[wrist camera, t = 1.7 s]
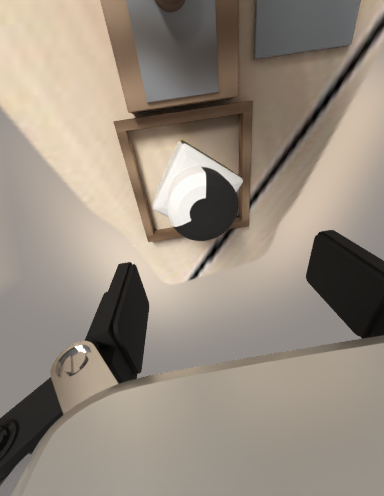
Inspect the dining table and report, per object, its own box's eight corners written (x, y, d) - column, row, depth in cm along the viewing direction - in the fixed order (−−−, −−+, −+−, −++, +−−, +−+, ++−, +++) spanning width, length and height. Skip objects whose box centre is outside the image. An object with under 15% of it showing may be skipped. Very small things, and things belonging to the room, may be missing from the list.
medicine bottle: (227, 168, 26) (265, 194, 16) (200, 213, 29) (217, 260, 19) (179, 137, 23) (187, 146, 13) (155, 191, 26) (146, 230, 16)
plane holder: (74, -27, 16) (32, -95, 11) (251, -51, 17) (287, -129, 12) (149, 237, 30) (145, 259, 25) (245, 221, 30) (260, 241, 25)
